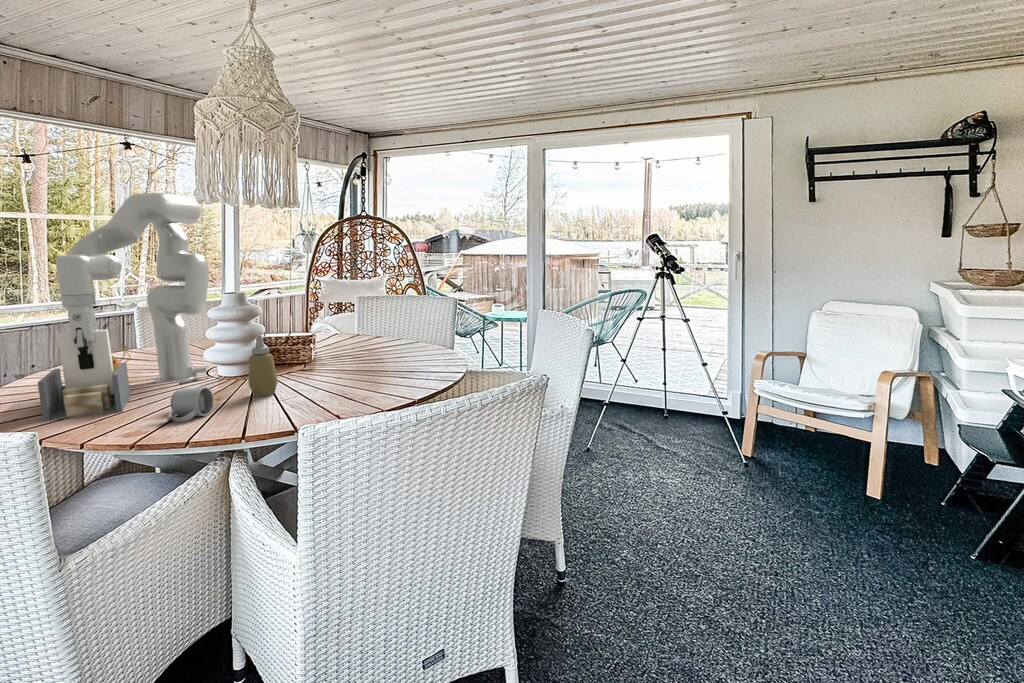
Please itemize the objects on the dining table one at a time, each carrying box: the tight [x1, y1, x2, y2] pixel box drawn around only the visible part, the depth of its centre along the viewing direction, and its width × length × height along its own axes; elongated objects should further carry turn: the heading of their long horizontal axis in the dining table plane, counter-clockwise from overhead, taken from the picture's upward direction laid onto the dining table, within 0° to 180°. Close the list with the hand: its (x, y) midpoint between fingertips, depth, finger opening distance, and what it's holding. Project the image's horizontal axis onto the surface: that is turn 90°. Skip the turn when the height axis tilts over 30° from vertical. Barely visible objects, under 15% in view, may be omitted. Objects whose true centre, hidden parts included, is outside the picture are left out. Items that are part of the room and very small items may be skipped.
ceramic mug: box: [170, 386, 214, 423], centre depth 161 cm, size 11×8×8 cm
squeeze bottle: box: [248, 334, 279, 398], centre depth 182 cm, size 8×8×18 cm
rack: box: [37, 362, 131, 422], centre depth 166 cm, size 17×18×12 cm
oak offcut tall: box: [62, 384, 112, 413], centre depth 165 cm, size 10×3×6 cm, turn 115°
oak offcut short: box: [64, 391, 105, 416], centre depth 161 cm, size 8×3×5 cm, turn 115°
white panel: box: [57, 328, 114, 395], centre depth 168 cm, size 11×3×18 cm, turn 115°
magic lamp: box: [112, 344, 132, 372], centre depth 211 cm, size 7×18×11 cm, turn 88°
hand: (88, 366), depth 168 cm, fingers closed on white panel, 3 cm apart
